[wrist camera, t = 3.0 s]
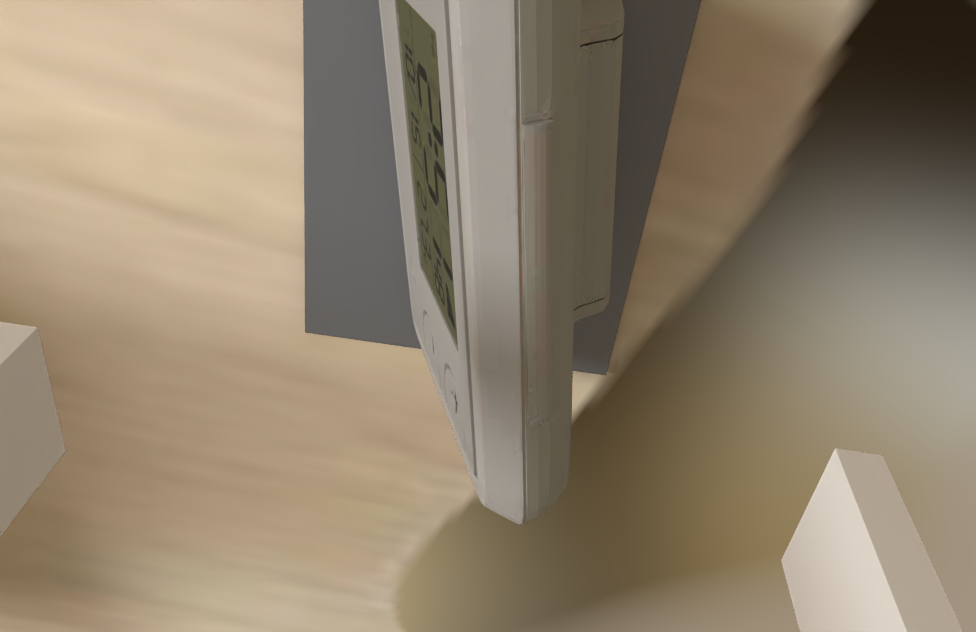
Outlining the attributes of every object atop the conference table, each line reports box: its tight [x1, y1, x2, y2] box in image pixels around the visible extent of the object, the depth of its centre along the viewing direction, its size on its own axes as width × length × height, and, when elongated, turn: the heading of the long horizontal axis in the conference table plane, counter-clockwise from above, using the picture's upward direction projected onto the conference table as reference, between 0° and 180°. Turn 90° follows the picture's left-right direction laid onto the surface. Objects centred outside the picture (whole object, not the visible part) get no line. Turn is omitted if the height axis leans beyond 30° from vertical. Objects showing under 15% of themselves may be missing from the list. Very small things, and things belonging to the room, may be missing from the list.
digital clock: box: [379, 0, 624, 525], centre depth 22 cm, size 16×9×11 cm, turn 171°
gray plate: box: [303, 0, 701, 375], centre depth 27 cm, size 19×12×1 cm, turn 173°
